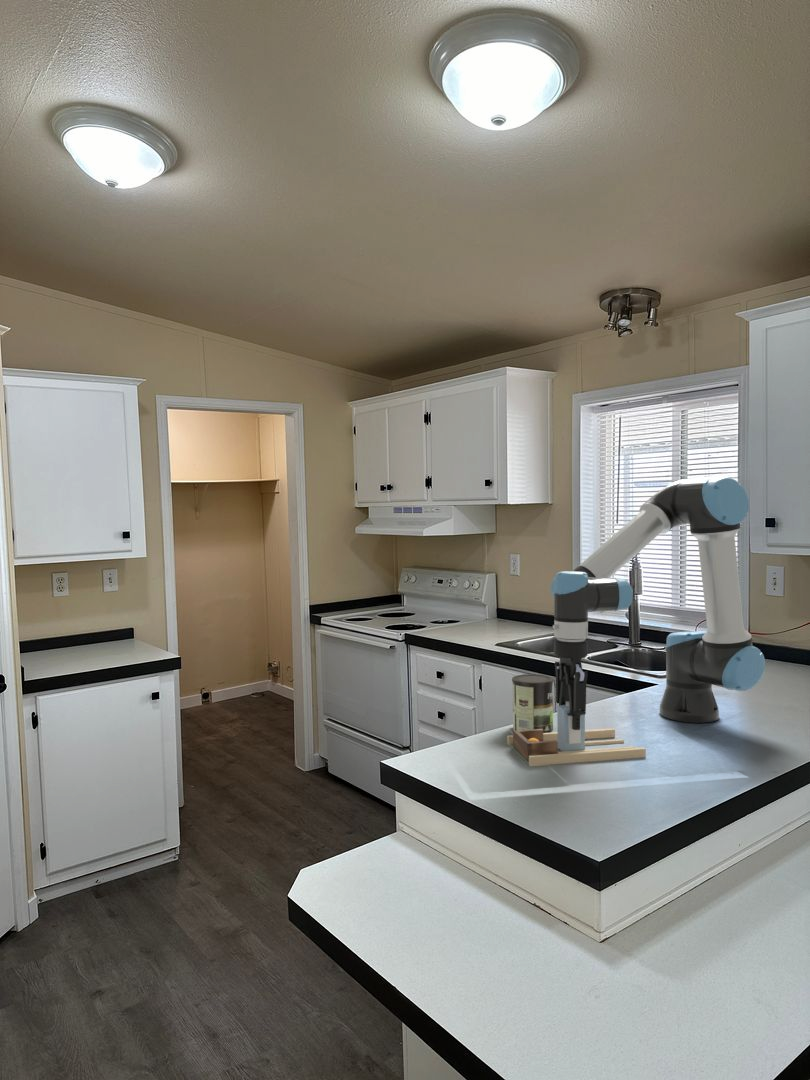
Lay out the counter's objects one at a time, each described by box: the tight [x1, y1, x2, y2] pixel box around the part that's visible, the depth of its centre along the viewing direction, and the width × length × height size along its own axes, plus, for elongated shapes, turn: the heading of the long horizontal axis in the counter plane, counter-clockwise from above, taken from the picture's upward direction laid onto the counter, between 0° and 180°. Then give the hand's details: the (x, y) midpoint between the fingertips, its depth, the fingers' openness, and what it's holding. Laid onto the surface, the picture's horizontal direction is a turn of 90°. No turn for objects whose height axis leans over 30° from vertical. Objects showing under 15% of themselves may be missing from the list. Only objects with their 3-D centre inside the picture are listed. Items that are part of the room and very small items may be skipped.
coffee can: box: [511, 673, 554, 733], centre depth 185 cm, size 10×10×14 cm
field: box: [506, 727, 647, 767], centre depth 168 cm, size 27×16×3 cm, turn 100°
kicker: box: [556, 701, 586, 752], centre depth 168 cm, size 5×4×11 cm
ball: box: [529, 738, 540, 742], centre depth 166 cm, size 4×4×4 cm
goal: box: [512, 729, 559, 762], centre depth 166 cm, size 7×10×4 cm
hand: (570, 739), depth 168 cm, fingers closed on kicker, 4 cm apart
